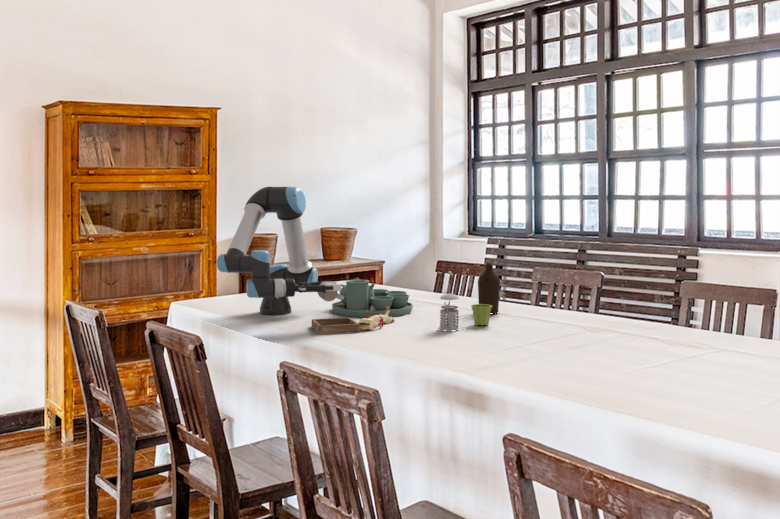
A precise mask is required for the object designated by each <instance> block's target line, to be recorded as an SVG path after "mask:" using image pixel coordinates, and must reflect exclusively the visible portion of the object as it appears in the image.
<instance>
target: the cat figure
mask: <svg viewBox="0 0 780 519" xmlns="http://www.w3.org/2000/svg"><path fill="white" fill-rule="evenodd" d="M386 309H387V311H386V313H385V315H375V316H372V317H369V318H368V316H369V315H370V314H369V315H367V317H362V318H360V319H359V321H358V322H357V323H359V324H360V329H361V330H362V331H363V330H364V331H366V330H375V329H376V328H377V327H379V329H380V328H383V327H384V325H385V323H391V322H393V323H394V322H395V319H394V317H395V316H393V317H389V316H388V313H389V312H390V308H389V306H386ZM379 323H380V326H379ZM375 327H376V328H375Z"/></svg>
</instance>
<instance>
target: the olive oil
mask: <svg viewBox="0 0 780 519" xmlns="http://www.w3.org/2000/svg"><path fill="white" fill-rule="evenodd" d="M493 264H494V263H493V261H485V270H483V272H482V273H481V274H480V275H479V276H478V280H477V290H478V294H477V296H478V298H477V299H478V304H487V305H492V307H491V311H490V313H497V312H498V313H499V307H500V306H499V305H500V304H499V303H500V302H499V301H500V289H501V288H500V287H501V280H500V277H499V275H498V274H497V273H496V272H495V271H494V269H493V267H494V265H493Z"/></svg>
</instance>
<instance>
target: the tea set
mask: <svg viewBox="0 0 780 519" xmlns="http://www.w3.org/2000/svg"><path fill="white" fill-rule="evenodd" d="M344 281H345V283H346V284H345V285H344V284H343V283H341V291H339V294H340V295H342V296H343V297H344V299H343V300H339V301H336V302H333V303H332V304H331V306H332V307H331V308H332V311H333V314H338V315H340V316H345V317H355V318H365V317H367V315H369V314H370V315H369V316H368V317H372V316H375V315H385V313H386V311H387V309H386V306H389V308H390V312H389V313H388V316H389V318H390V317H391V316H393V317H400V315H401V316H404V314H405V315H408V313H409V314H410V313H411V312H412V310H413V307H414V304H413V303H411V302H410V301H409V298H410V295H409V294H407V291H404V290H388V289H385V288H380V289H379V288H374V287H375V283H374V282H372V284H369V283H370V280H368V279H360V278H359V277H356V278H354V279H349V280H344ZM408 301H409V302H408ZM368 317H367V318H368Z"/></svg>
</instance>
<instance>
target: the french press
mask: <svg viewBox="0 0 780 519" xmlns="http://www.w3.org/2000/svg"><path fill="white" fill-rule="evenodd" d="M447 274H448V275H452V274H453V272H452V271H451V270H449V271H447ZM448 287H449V289H448V290H449V292H448V293H446V294H442V295H441V296H440V297H439V299H440V300H444V302H443V305H442V306H441V309H440V310H439V312H440V314H439V322H440V323H439V327H438V328H437V330H438V329H440V330H446V331H445V332H447V331H452V330H458V329H461V328H460V327H459V318H460V317H459V309H458V308H459V307H458V306H457V305H451V301H453V300H459V299H460V297H459V296H458V295H456V294H454V293H451V286H448ZM445 300H447V301H448V303H447V302H446V301H445ZM440 330H439V331H440Z"/></svg>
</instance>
